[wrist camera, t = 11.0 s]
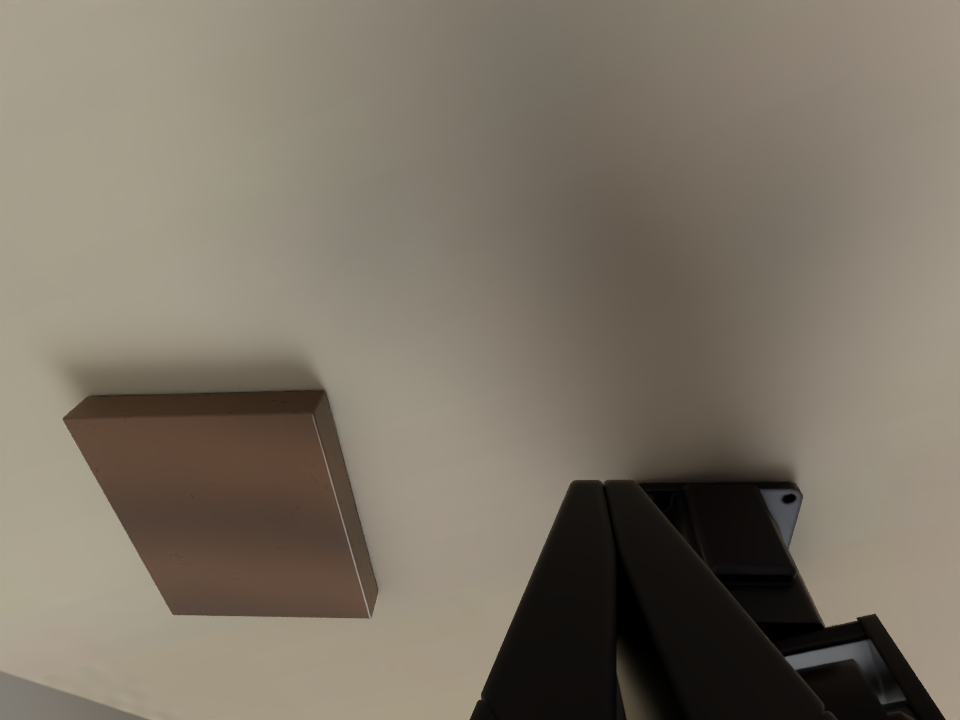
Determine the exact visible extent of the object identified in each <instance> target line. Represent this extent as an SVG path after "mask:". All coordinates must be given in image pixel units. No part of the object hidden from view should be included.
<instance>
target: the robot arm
mask: <svg viewBox="0 0 960 720" xmlns="http://www.w3.org/2000/svg"><path fill="white" fill-rule="evenodd" d="M787 494H789V495H788V496H785V495H787ZM802 499H803V495H802V493H801V491H800V489H799V488H798V486H797V485H796V484H794V483H791V482H719V483H641V484H637V483H636V482H635V481H633V480H606V481H605V482H604V484H602V482H601V481H599V480H574V481H573V482H572V483H571V484H570V486H569V488H568V490H567V493H566V495H565V497H564V500H563V502H562V505H561V507H560V509H559V512H558V514H557V516H556V519H555V521H554V523H553V526H552V528H551V530H550V533H549V535H548V538H547V540H546V542H545V545H544V547H543V549H542V552H541V554H540V556H539V559H538V561H537V563H536V566H535V568H534V571H533V573H532V575H531V578H530V580H529V582H528V585H527V587H526V589H525V592H524V594H523V596H522V599H521V601H520V604H519V606H518V608H517V611H516V613H515V615H514V618H513V620H512V622H511V625H510V627H509V629H508V632H507V634H506V637H505V639H504V641H503V644H502V646H501V648H500V651H499V653H498V655H497V658H496V660H495V662H494V665H493V667H492V670H491V672H490V674H489V677H488V679H487V681H486V684H485V686H484V688H483V691H482V693H481V699H482V700H479V701H478V702H477V704H476V706H475V709H474V711H473V713H472V716H471V718H470V720H946V719H945V718H944V716H943V715H942V713H941V712H940V710H939V709H938V707H937V706H936V704H935V703H934V701H933V700H932V698H931V697H930V695H929V694H928V692H927V691H926V689H925V688H924V686H923V685H922V683H921V682H920V680H919V679H918V677H917V676H916V674H915V673H914V671H913V670H912V668H911V667H910V665H909V664H908V662H907V661H906V659H905V658H904V656H903V655H902V653H901V652H900V650H899V649H898V647H897V646H896V644H895V643H894V641H893V640H892V638H891V637H890V635H889V634H888V632H887V631H886V629H885V628H884V626H883V625H882V623H881V622H880V620H879V619H878V617H877V616H876V614H872V615H867V616H862V617H858V618H857V621H854V622H850V623H845V624H840V625H835V626H831V627H825V625H824V623H823V621H822V619H821V617H820V615H819V613H818V610H817V608H816V606H815V604H814V602H813V600H812V598H811V596H810V594H809V592H808V590H807V588H806V585H805V583H804V581H803V579H802V577H801V575H800V573H799V571H798V569H797V567H796V565H795V563H794V560H793V558H792V556H791V554H790V552H789V550H788V549H789V545H790V542H791V538H792V535H793V531H794V528H795V524H796V521H797V517H798V513H799V510H800V506H801V503H802Z"/></svg>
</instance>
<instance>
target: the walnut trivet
mask: <svg viewBox="0 0 960 720" xmlns="http://www.w3.org/2000/svg"><path fill="white" fill-rule="evenodd" d="M63 421H64V423H65V424H66V426H67V428H68V430H69V431H70V433H71V435H72V437H73V439H74V440H75V442H76V444H77V446H78V447H79V449H80V451H81V453H82V455H83V456H84V458H85V460H86V462H87V463H88V465H89V467H90V469H91V471H92V472H93V474H94V476H95V478H96V479H97V481H98V483H99V485H100V486H101V488H102V490H103V492H104V494H105V495H106V497H107V499H108V501H109V502H110V504H111V506H112V508H113V510H114V511H115V513H116V515H117V517H118V518H119V520H120V522H121V524H122V526H123V527H124V529H125V531H126V533H127V534H128V536H129V538H130V540H131V541H132V543H133V545H134V547H135V549H136V550H137V552H138V554H139V556H140V557H141V559H142V561H143V563H144V565H145V566H146V568H147V570H148V572H149V573H150V575H151V577H152V579H153V581H154V582H155V584H156V586H157V588H158V589H159V591H160V593H161V595H162V596H163V598H164V600H165V602H166V604H167V605H168V607H169V609H170V611H171V612H172V614H173V615H206V616H262V617H318V618H371V617H372V614H373V610H374V606H375V602H376V598H377V595H378V590H377V586H376V582H375V578H374V574H373V571H372V567H371V563H370V559H369V555H368V552H367V548H366V544H365V540H364V536H363V533H362V529H361V525H360V521H359V517H358V514H357V510H356V506H355V502H354V498H353V495H352V491H351V487H350V483H349V479H348V476H347V472H346V468H345V464H344V461H343V457H342V453H341V449H340V445H339V442H338V438H337V434H336V430H335V426H334V423H333V419H332V415H331V411H330V407H329V404H328V400H327V396H326V392H325V391H299V392H260V393H220V394H180V395H141V396H101V397H87V398H85V399H84V400H83V401H82V402H81V403H79V404H78V405H77V406H76V407H75V408H74V409H73V410H71V411H70V412H69V413H68V414H67V415H66V416H64V417H63Z"/></svg>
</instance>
